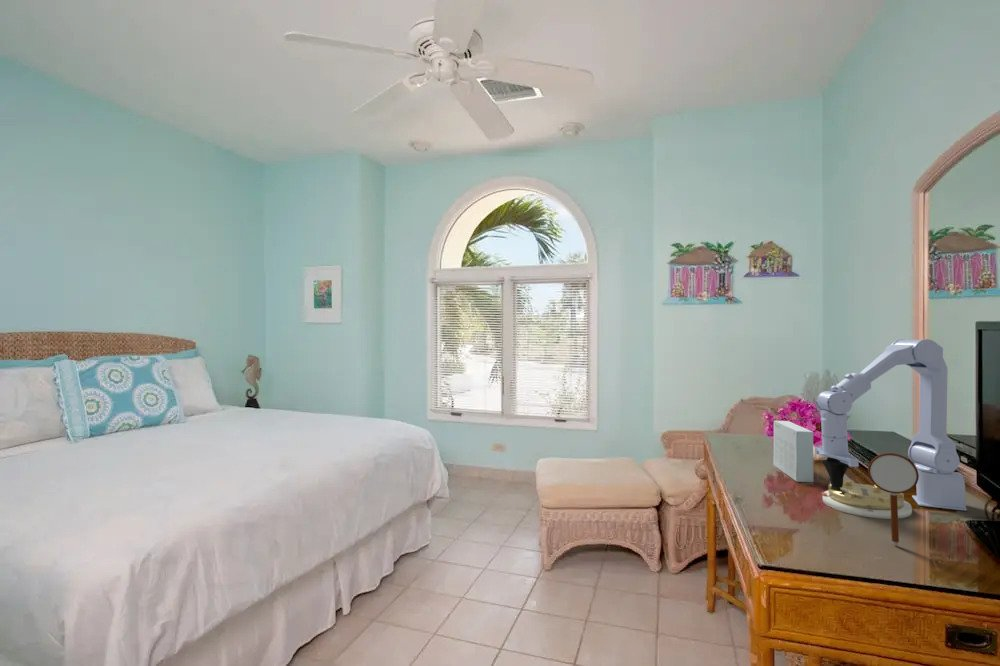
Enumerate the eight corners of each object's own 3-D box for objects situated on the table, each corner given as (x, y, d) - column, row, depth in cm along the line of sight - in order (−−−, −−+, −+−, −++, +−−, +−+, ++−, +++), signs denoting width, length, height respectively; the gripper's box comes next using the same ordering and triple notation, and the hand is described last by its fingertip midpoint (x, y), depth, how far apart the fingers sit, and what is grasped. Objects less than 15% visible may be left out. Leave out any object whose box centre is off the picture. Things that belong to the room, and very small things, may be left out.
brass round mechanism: (908, 514, 119) (907, 483, 119) (829, 503, 128) (828, 475, 128) (899, 495, 133) (898, 468, 133) (828, 487, 141) (827, 461, 141)
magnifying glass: (920, 548, 104) (917, 454, 104) (922, 551, 103) (918, 456, 103) (870, 540, 109) (866, 450, 109) (870, 543, 107) (867, 452, 108)
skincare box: (815, 483, 151) (814, 431, 151) (796, 482, 152) (794, 431, 152) (789, 465, 171) (788, 419, 172) (772, 464, 173) (771, 419, 173)
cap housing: (903, 499, 134) (902, 492, 134) (920, 523, 117) (920, 514, 117) (820, 490, 143) (819, 483, 143) (825, 511, 127) (825, 503, 127)
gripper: (803, 431, 139) (805, 479, 139) (837, 442, 124) (840, 496, 124) (828, 430, 139) (830, 478, 139) (865, 441, 124) (868, 495, 124)
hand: (836, 486), depth 131 cm, fingers closed
